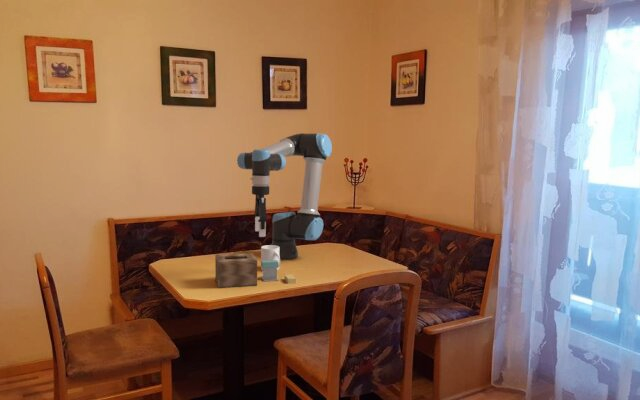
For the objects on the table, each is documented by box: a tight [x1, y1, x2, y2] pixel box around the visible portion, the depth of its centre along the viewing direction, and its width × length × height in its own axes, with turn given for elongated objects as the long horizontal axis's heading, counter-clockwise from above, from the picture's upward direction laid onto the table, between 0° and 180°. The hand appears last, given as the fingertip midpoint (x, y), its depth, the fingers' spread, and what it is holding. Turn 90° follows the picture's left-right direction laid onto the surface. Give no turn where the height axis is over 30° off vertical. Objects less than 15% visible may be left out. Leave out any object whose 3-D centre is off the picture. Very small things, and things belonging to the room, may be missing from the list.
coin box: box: [214, 252, 258, 289], centre depth 219 cm, size 16×13×11 cm
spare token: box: [284, 273, 297, 285], centre depth 223 cm, size 7×3×2 cm, turn 17°
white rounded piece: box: [260, 244, 281, 271], centre depth 241 cm, size 9×12×11 cm
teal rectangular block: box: [260, 260, 279, 268], centre depth 225 cm, size 7×3×2 cm, turn 106°
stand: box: [260, 267, 279, 282], centre depth 226 cm, size 6×6×6 cm
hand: (260, 233), depth 225 cm, fingers open, 13 cm apart
